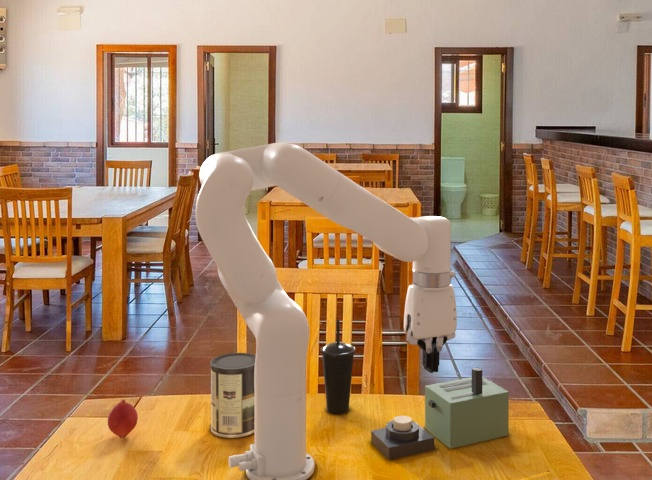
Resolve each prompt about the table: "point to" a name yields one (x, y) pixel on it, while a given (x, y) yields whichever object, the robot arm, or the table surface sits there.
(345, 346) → the drinking cup
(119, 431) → the onion
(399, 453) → the control block
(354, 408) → the table surface
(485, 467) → the table surface
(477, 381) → the slider
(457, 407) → the toaster
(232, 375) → the coffee can
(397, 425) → the button
